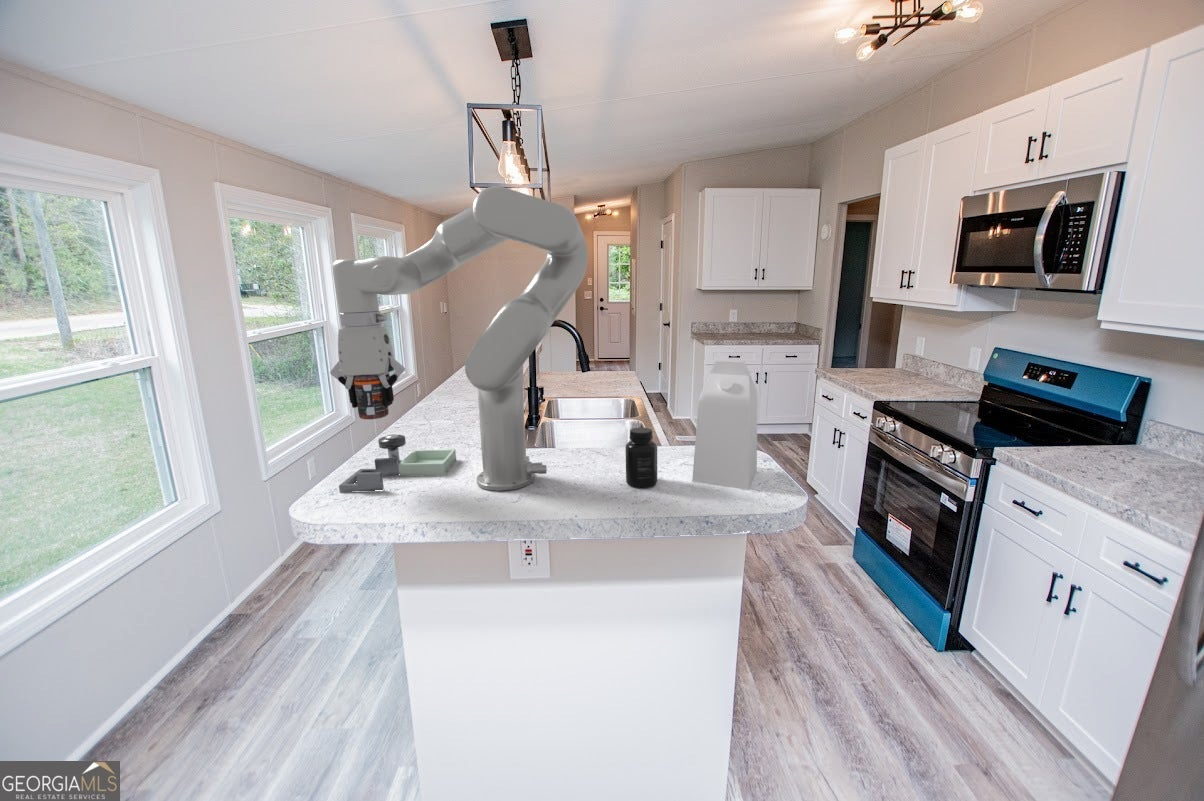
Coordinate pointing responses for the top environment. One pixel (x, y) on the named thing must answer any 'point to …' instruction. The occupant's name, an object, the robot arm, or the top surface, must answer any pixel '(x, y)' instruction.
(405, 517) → the top surface
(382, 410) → the supplement bottle
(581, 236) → the robot arm
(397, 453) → the pulley
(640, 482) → the supplement bottle
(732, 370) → the milk
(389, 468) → the bracket
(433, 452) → the tray
